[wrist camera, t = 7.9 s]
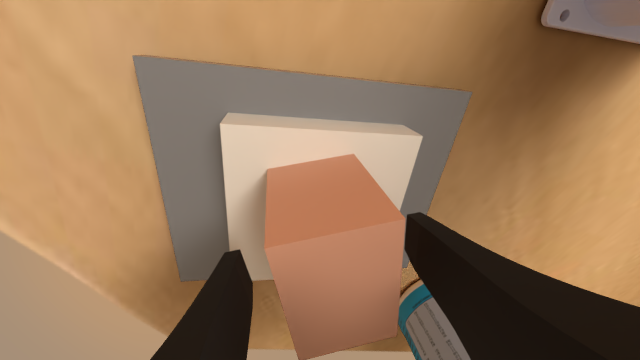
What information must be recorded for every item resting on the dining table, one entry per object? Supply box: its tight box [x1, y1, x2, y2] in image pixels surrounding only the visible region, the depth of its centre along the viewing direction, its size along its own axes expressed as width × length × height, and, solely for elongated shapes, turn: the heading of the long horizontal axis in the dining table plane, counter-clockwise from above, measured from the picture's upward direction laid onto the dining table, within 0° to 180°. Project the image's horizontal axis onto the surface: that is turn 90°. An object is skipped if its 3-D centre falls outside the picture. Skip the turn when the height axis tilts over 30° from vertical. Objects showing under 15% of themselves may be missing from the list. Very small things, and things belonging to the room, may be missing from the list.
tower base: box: [132, 55, 472, 282], centre depth 14 cm, size 16×13×3 cm
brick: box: [264, 154, 406, 360], centre depth 10 cm, size 4×6×5 cm, turn 7°
